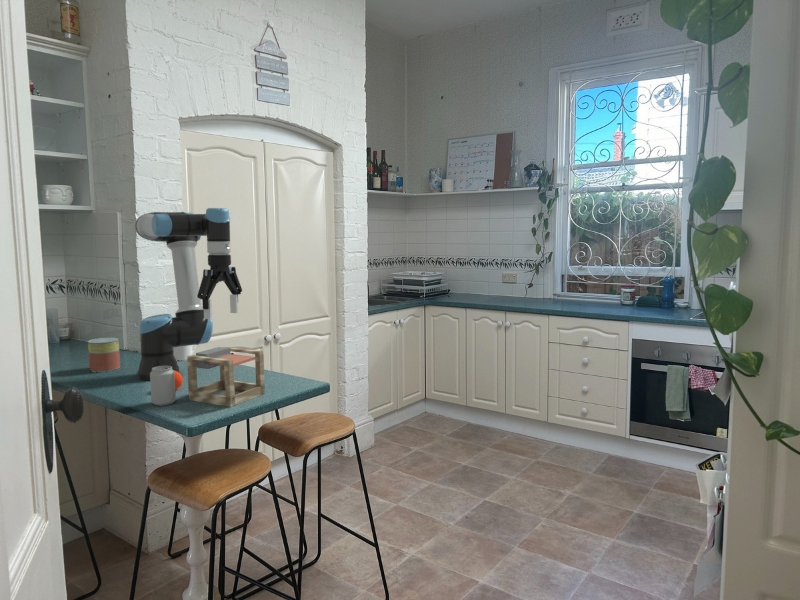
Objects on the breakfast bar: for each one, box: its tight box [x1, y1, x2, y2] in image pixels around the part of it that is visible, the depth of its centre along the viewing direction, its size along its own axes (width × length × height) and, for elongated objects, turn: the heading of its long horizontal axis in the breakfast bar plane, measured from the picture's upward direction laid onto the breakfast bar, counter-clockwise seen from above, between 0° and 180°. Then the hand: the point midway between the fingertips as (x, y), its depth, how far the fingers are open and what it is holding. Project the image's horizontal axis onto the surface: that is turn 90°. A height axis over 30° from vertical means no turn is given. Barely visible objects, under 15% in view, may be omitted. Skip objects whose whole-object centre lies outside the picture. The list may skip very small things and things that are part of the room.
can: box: [149, 366, 177, 407], centre depth 193 cm, size 8×8×12 cm
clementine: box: [174, 371, 184, 391], centre depth 209 cm, size 8×7×7 cm
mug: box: [173, 345, 197, 362], centre depth 259 cm, size 12×9×9 cm
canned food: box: [87, 337, 121, 371], centre depth 239 cm, size 11×11×12 cm
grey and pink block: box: [195, 346, 256, 370], centre depth 199 cm, size 16×13×5 cm
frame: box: [186, 346, 266, 408], centre depth 200 cm, size 18×17×15 cm
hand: (221, 315), depth 203 cm, fingers open, 13 cm apart
